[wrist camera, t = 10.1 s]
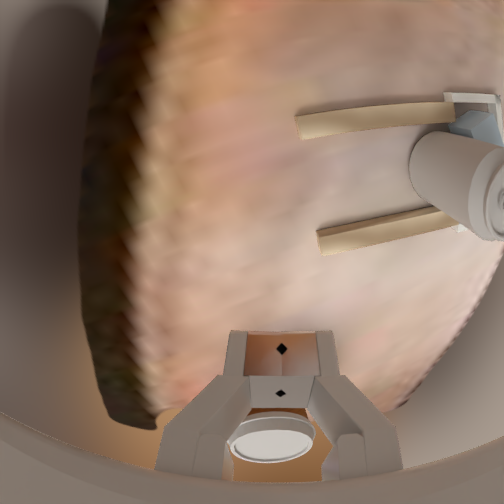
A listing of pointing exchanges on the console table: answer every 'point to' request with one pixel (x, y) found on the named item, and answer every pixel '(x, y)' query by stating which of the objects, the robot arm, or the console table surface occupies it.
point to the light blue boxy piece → (477, 127)
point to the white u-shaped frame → (493, 107)
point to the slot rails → (364, 120)
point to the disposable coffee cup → (272, 435)
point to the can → (462, 180)
